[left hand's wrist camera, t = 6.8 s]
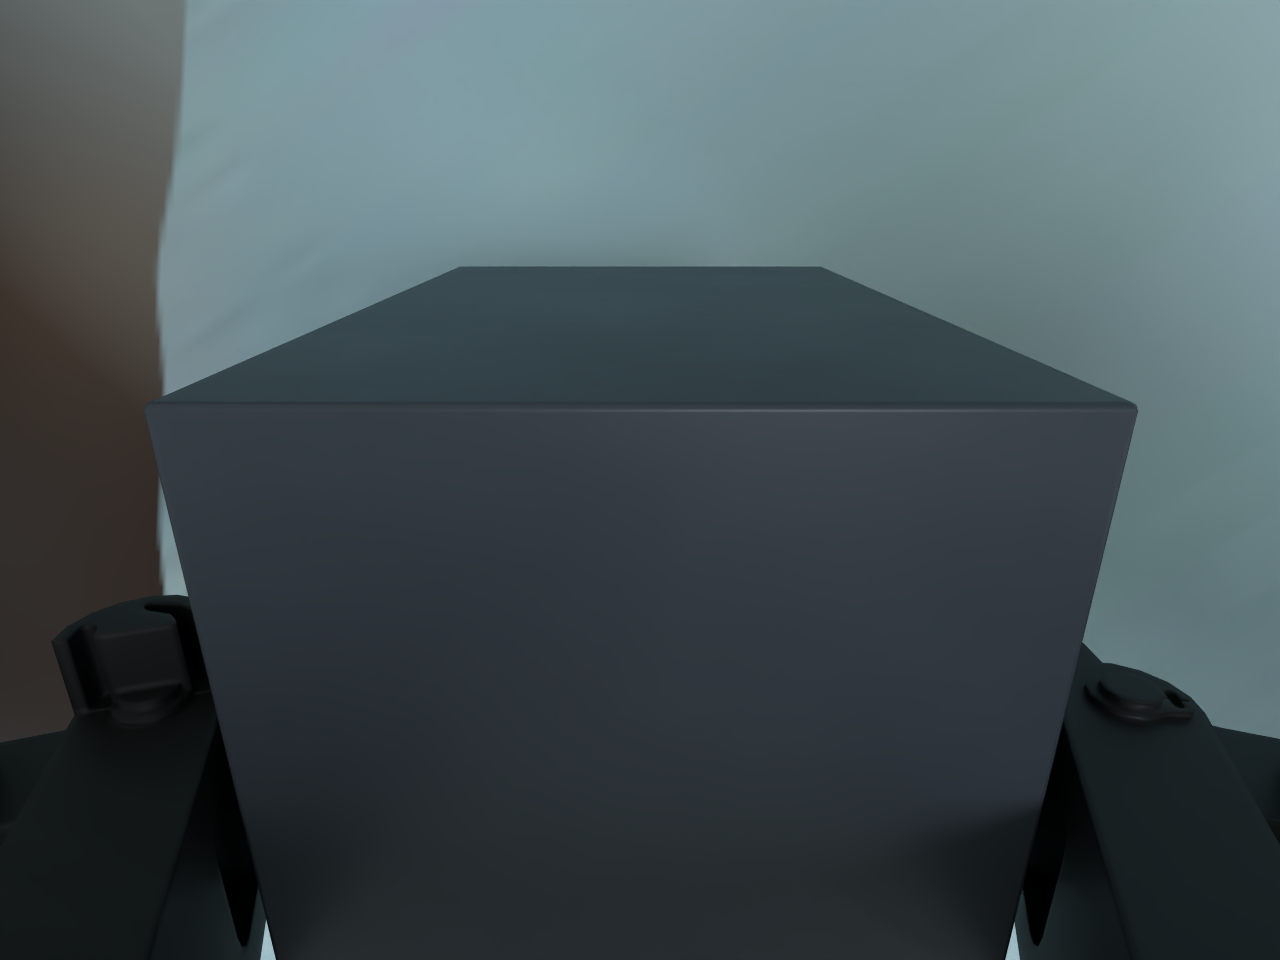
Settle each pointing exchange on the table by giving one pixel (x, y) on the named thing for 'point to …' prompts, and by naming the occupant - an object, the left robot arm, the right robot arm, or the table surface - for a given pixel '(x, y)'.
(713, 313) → the box
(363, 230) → the table surface
